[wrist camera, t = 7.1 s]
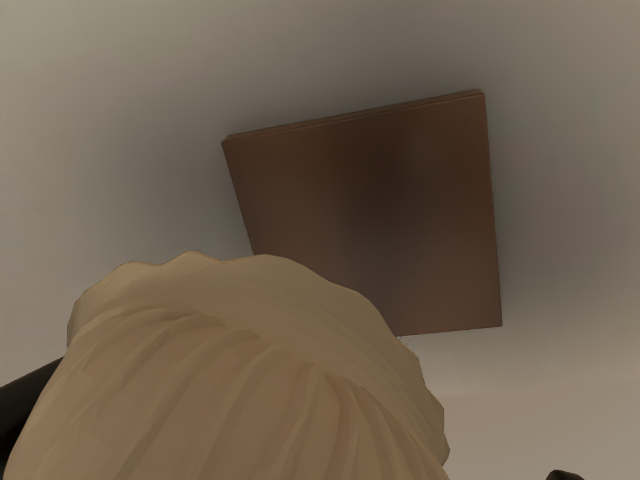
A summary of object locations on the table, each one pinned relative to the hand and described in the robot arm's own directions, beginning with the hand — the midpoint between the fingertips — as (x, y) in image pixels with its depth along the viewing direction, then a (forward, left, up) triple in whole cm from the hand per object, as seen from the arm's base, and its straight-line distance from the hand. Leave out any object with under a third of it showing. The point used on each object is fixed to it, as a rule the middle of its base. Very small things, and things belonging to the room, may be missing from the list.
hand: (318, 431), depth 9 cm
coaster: (+1, -1, -10) cm, 10 cm away
